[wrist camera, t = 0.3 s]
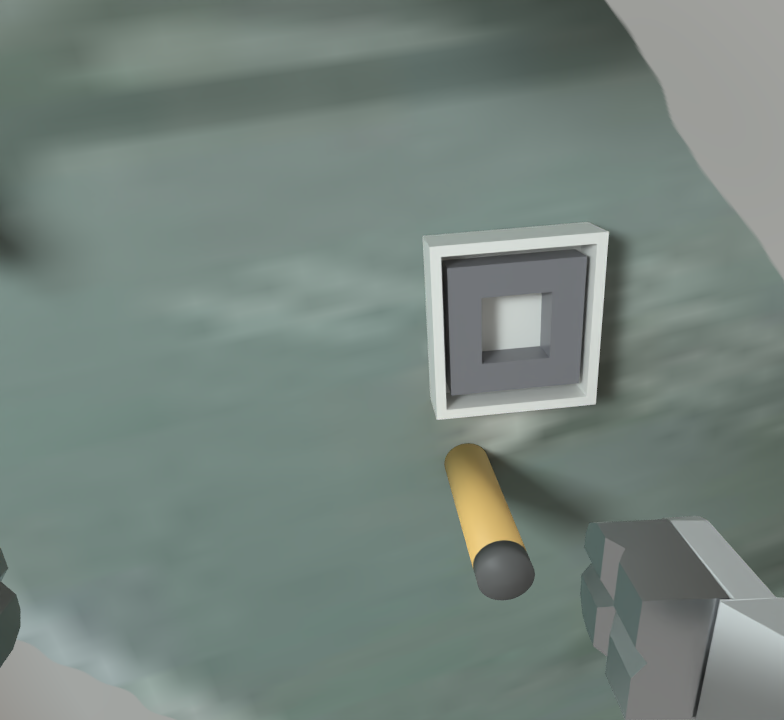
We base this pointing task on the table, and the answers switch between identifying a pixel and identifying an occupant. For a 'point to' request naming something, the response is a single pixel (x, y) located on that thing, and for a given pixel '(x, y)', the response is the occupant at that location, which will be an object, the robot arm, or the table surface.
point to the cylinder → (487, 525)
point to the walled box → (514, 318)
